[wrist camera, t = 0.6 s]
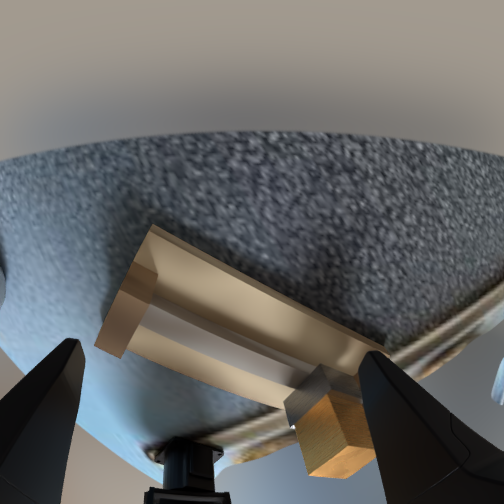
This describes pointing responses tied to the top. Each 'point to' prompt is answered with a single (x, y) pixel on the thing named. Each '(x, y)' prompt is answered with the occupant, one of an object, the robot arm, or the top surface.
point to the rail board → (222, 324)
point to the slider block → (330, 423)
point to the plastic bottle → (2, 287)
